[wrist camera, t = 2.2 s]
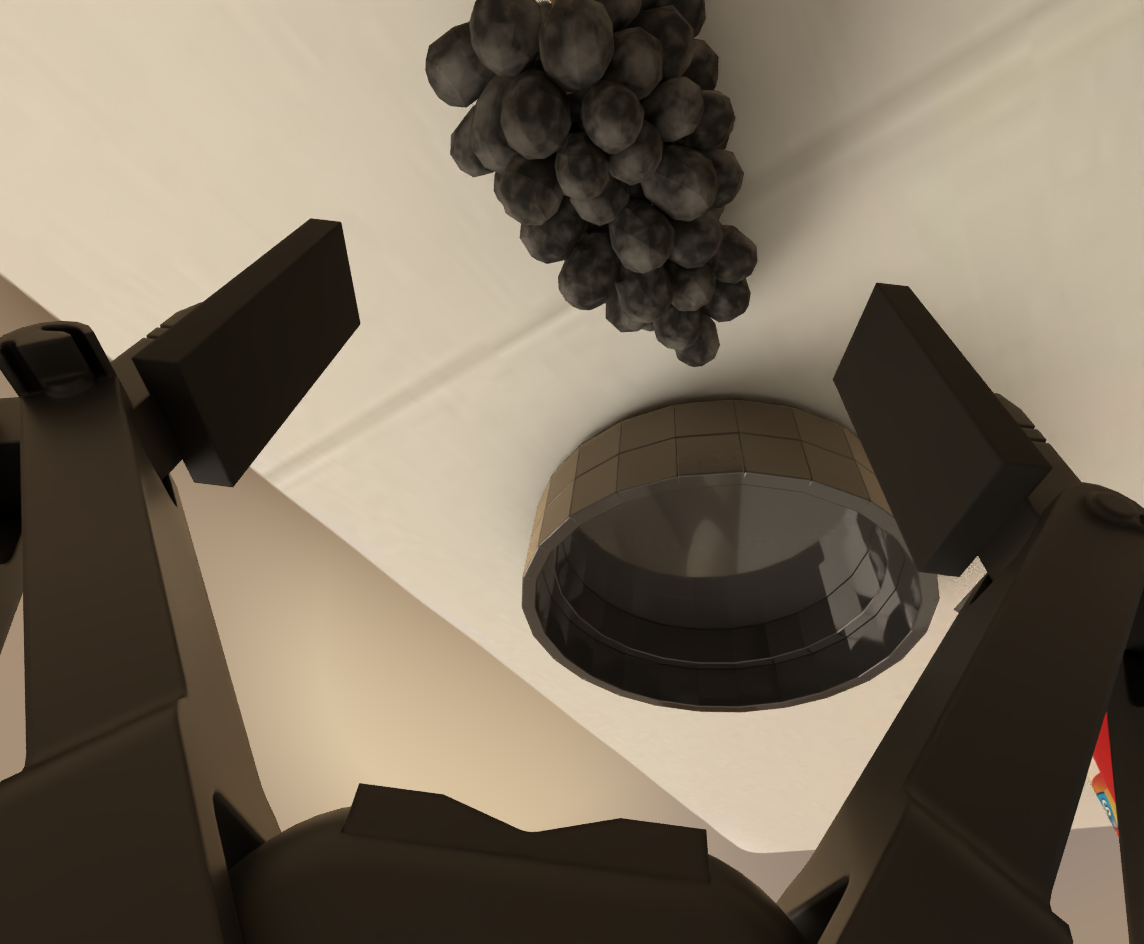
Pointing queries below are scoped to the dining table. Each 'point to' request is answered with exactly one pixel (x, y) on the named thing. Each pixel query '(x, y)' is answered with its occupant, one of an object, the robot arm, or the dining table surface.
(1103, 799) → the fruit juice
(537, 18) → the fruit
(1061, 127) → the dining table surface
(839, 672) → the bowl
